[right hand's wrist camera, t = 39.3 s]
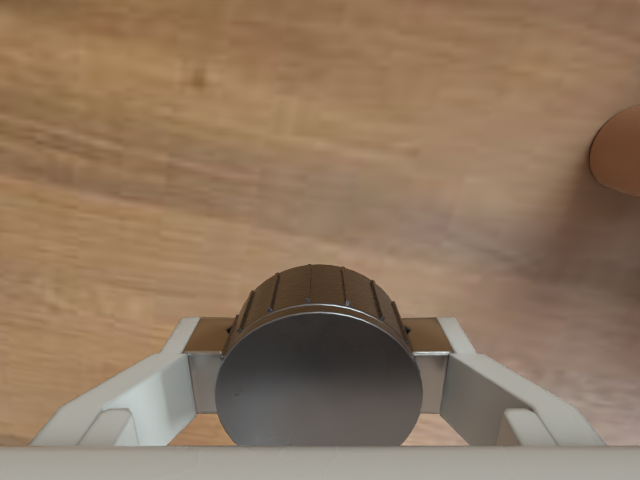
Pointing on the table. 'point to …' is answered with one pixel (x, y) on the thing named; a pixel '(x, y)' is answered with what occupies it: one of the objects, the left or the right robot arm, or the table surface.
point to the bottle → (618, 153)
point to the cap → (318, 364)
